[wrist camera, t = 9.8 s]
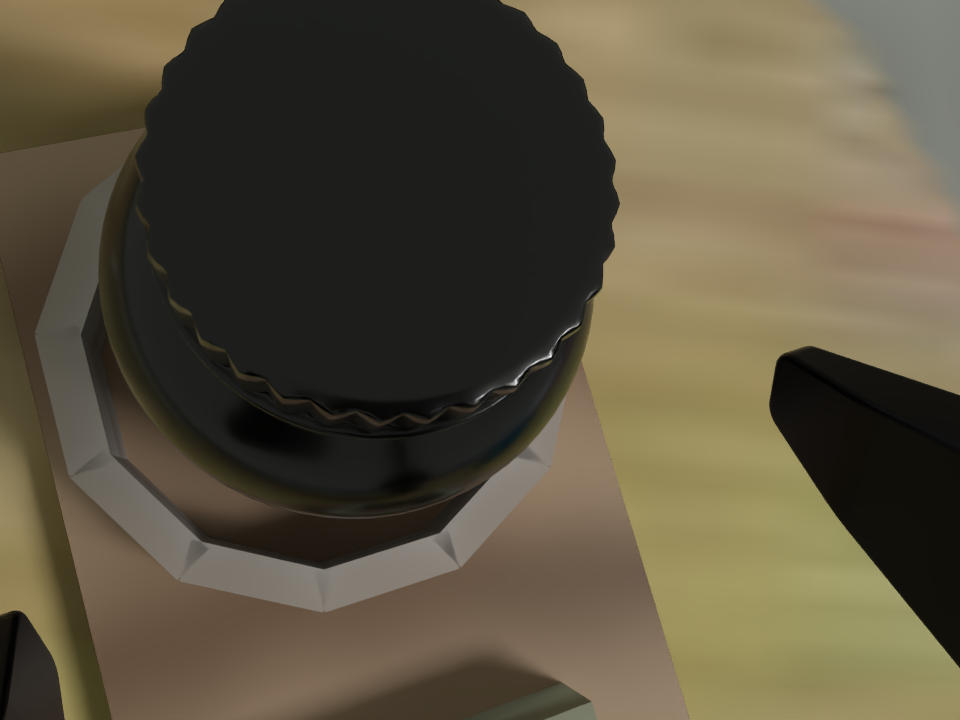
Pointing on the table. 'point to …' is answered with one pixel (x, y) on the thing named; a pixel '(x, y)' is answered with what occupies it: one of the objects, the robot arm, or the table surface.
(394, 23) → the supplement bottle
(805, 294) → the table surface
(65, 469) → the socket board
